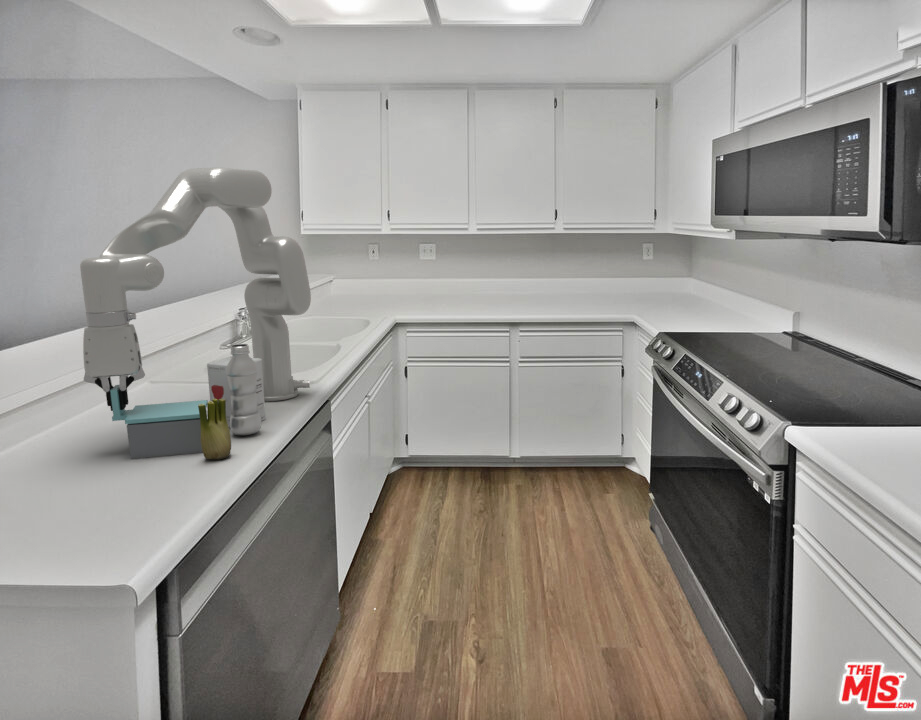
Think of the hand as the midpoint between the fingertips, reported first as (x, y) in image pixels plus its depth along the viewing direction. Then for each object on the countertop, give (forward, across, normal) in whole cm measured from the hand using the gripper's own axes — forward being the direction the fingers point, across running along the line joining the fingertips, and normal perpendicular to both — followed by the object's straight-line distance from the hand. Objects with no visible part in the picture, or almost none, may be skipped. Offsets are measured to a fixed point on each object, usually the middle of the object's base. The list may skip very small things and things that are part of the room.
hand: (118, 408), depth 148 cm
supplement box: (+10, -22, -15) cm, 28 cm away
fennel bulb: (+10, -19, +10) cm, 24 cm away
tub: (+9, -9, 0) cm, 13 cm away
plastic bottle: (+10, -24, -5) cm, 27 cm away
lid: (+3, -8, 0) cm, 8 cm away
